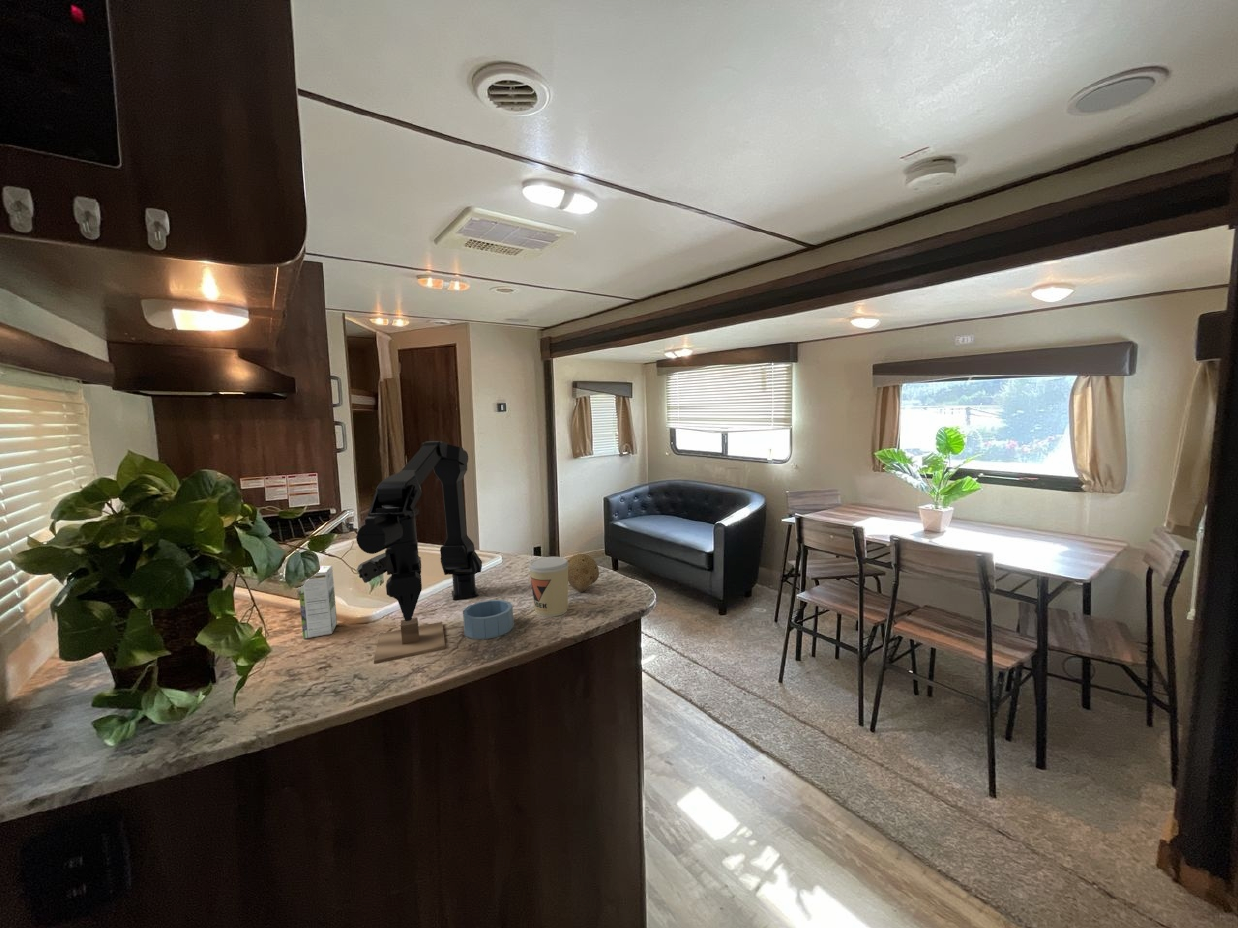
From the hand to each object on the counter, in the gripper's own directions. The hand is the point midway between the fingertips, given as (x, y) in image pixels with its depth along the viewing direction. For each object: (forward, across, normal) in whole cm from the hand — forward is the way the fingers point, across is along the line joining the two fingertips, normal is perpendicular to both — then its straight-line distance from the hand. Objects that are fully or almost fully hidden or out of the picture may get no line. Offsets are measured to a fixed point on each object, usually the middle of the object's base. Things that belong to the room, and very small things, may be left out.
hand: (408, 612), depth 101 cm
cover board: (+7, 0, 0) cm, 7 cm away
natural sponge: (+7, -11, +42) cm, 44 cm away
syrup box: (+7, -16, -19) cm, 26 cm away
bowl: (+6, +1, +16) cm, 17 cm away
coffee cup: (+7, -2, +31) cm, 32 cm away
